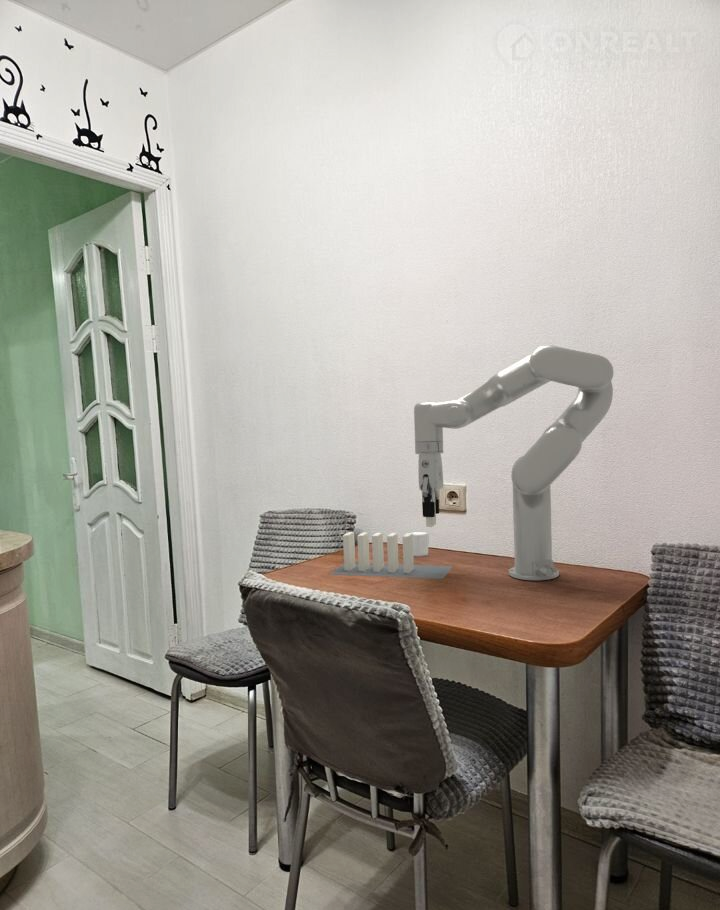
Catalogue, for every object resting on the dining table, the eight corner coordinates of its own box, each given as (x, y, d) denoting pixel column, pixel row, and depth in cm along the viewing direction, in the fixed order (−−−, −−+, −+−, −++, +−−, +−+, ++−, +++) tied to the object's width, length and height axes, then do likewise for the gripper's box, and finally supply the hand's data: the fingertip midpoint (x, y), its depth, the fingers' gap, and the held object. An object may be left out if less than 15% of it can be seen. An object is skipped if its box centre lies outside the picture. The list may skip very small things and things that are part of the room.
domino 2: (369, 567, 185) (368, 532, 184) (364, 571, 180) (362, 535, 179) (364, 566, 185) (363, 532, 185) (358, 571, 180) (357, 535, 180)
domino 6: (436, 523, 178) (435, 487, 177) (432, 526, 173) (431, 489, 172) (430, 523, 178) (429, 487, 177) (426, 526, 173) (425, 489, 173)
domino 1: (355, 566, 186) (354, 532, 186) (349, 570, 181) (348, 535, 181) (350, 566, 187) (348, 532, 186) (344, 570, 182) (342, 535, 181)
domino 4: (398, 568, 182) (397, 532, 181) (393, 572, 177) (392, 536, 177) (393, 567, 182) (391, 532, 182) (388, 572, 178) (386, 536, 177)
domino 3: (384, 567, 183) (382, 532, 183) (378, 571, 179) (377, 535, 178) (378, 567, 184) (377, 532, 183) (373, 571, 179) (371, 535, 179)
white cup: (403, 555, 201) (402, 532, 200) (422, 552, 204) (422, 530, 203) (414, 559, 194) (413, 535, 194) (434, 556, 197) (433, 533, 197)
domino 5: (413, 568, 181) (412, 533, 180) (409, 573, 176) (408, 536, 175) (408, 568, 181) (407, 533, 180) (403, 572, 176) (402, 536, 176)
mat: (452, 567, 182) (452, 566, 182) (443, 580, 168) (442, 578, 168) (345, 563, 192) (345, 562, 192) (328, 575, 179) (328, 574, 179)
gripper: (436, 449, 165) (438, 520, 166) (448, 446, 181) (450, 510, 182) (407, 450, 167) (409, 520, 168) (422, 446, 183) (424, 510, 185)
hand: (431, 514), depth 175 cm, fingers closed on domino 6, 4 cm apart
